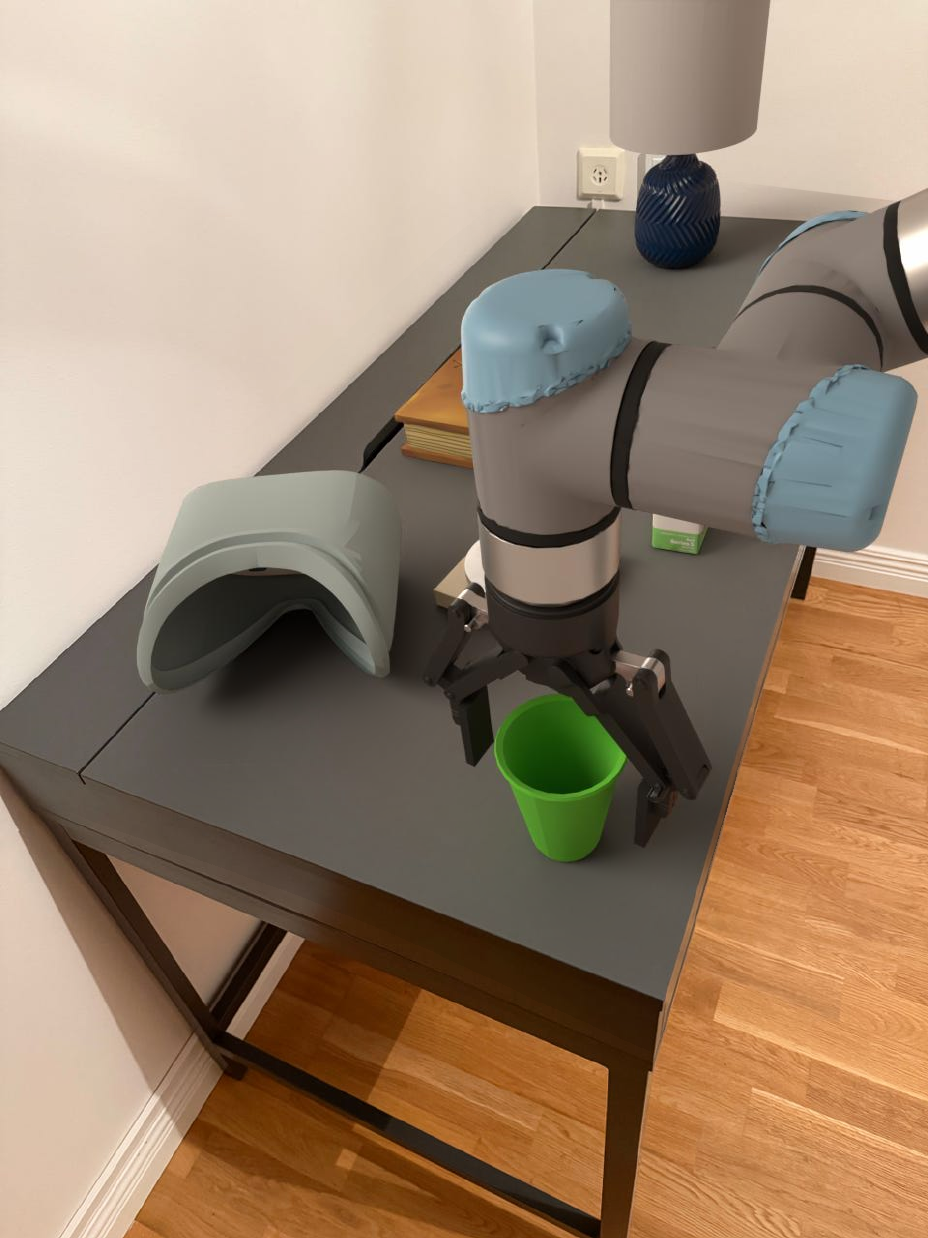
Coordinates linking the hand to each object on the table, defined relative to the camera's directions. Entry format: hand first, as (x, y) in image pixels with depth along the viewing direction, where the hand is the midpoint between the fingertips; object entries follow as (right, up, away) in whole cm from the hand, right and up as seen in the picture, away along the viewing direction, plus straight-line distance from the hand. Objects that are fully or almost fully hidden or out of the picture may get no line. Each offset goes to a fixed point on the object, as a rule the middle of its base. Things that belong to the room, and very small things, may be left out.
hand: (560, 790), depth 64 cm
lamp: (+26, +68, +76) cm, 105 cm away
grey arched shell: (-23, +10, +22) cm, 34 cm away
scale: (-1, +16, +24) cm, 29 cm away
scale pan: (-1, +17, +23) cm, 29 cm away
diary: (0, +35, +45) cm, 57 cm away
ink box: (+16, +22, +28) cm, 39 cm away
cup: (+1, -4, +4) cm, 6 cm away
